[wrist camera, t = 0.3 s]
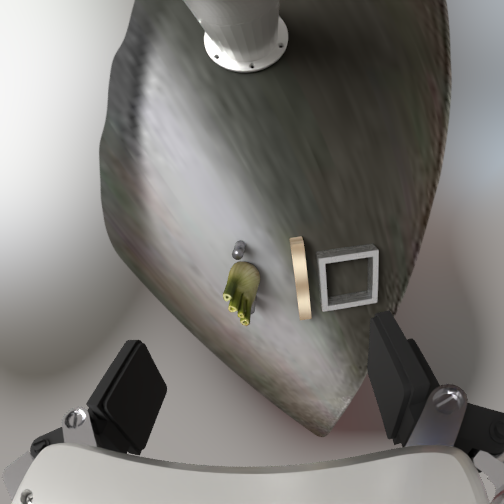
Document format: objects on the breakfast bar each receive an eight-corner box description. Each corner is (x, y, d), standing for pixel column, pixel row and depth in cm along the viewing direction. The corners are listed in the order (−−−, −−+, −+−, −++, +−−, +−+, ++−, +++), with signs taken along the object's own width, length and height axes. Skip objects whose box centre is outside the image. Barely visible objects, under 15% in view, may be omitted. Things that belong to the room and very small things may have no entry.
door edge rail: (289, 238, 45) (290, 244, 42) (301, 236, 44) (303, 243, 42) (298, 310, 50) (300, 320, 47) (309, 309, 50) (311, 318, 47)
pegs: (234, 241, 46) (231, 250, 42) (244, 239, 45) (241, 249, 42) (247, 301, 50) (245, 314, 46) (256, 300, 50) (255, 313, 46)
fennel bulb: (230, 257, 47) (217, 294, 36) (259, 256, 46) (255, 293, 35) (233, 287, 49) (222, 329, 38) (261, 286, 48) (258, 329, 37)
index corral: (315, 251, 45) (318, 258, 43) (373, 243, 44) (378, 249, 41) (320, 302, 49) (322, 311, 46) (372, 294, 48) (377, 302, 45)
